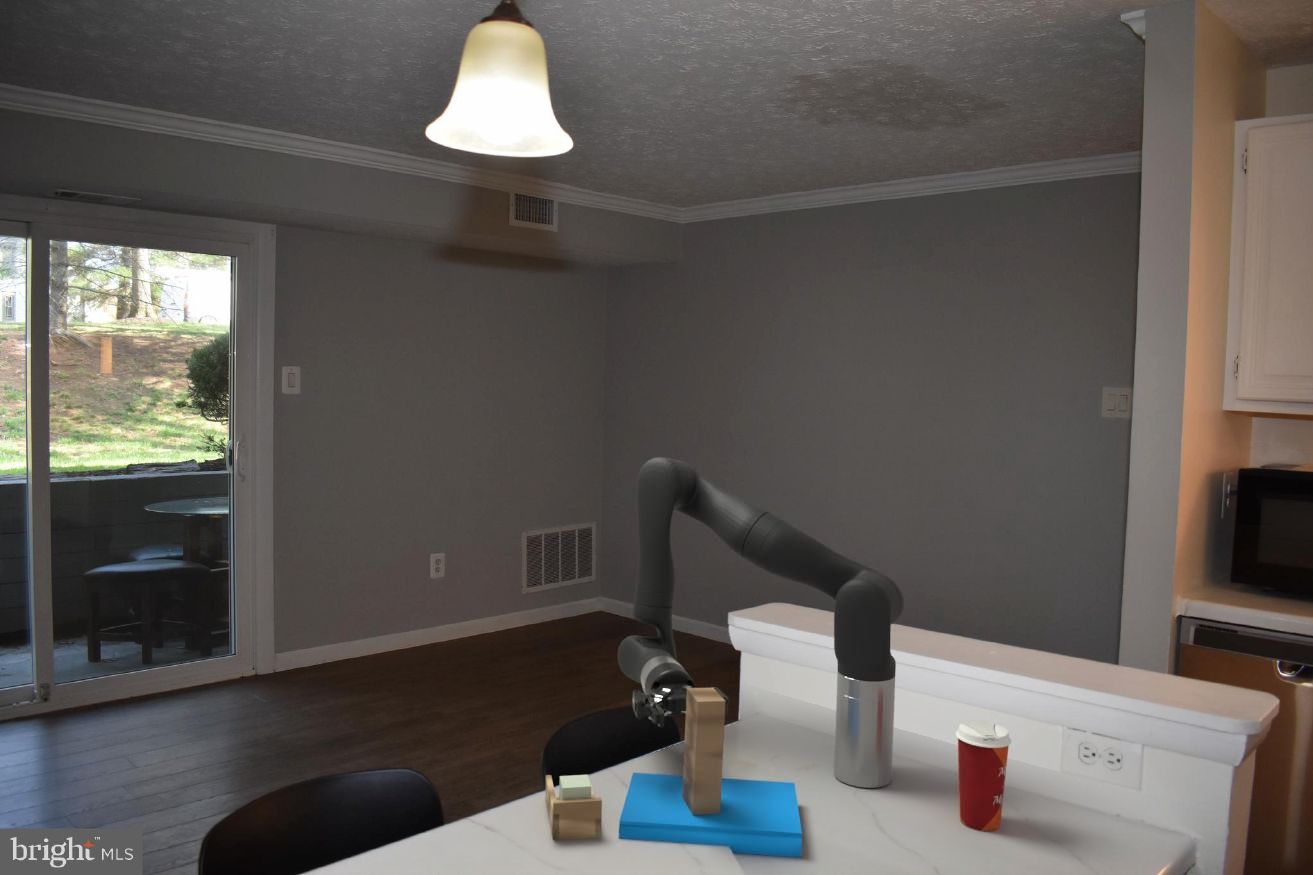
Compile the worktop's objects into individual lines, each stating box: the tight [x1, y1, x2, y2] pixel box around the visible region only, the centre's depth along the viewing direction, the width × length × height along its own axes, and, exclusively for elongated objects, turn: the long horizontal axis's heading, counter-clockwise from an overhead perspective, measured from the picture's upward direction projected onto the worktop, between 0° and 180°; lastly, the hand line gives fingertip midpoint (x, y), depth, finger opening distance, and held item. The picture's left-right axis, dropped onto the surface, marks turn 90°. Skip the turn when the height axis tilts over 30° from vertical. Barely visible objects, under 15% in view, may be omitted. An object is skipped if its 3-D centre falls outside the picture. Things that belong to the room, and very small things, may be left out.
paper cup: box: [955, 720, 1012, 832], centre depth 135 cm, size 8×8×14 cm
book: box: [618, 772, 803, 858], centre depth 133 cm, size 17×4×25 cm
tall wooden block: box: [682, 687, 726, 815], centre depth 132 cm, size 6×4×16 cm, turn 13°
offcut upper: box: [558, 774, 592, 800], centre depth 129 cm, size 4×4×3 cm
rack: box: [544, 774, 603, 841], centre depth 132 cm, size 13×7×6 cm, turn 11°
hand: (690, 719), depth 135 cm, fingers open, 8 cm apart
